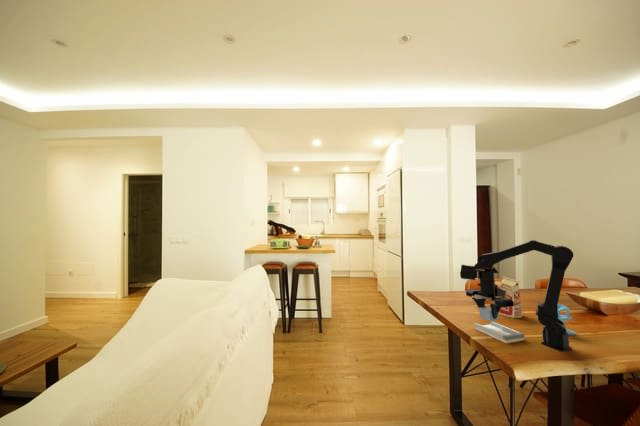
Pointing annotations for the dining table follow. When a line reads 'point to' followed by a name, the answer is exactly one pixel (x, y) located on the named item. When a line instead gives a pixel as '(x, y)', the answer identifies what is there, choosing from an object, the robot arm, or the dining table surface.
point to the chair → (564, 318)
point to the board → (500, 332)
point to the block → (487, 314)
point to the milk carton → (511, 293)
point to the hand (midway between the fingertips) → (489, 316)
